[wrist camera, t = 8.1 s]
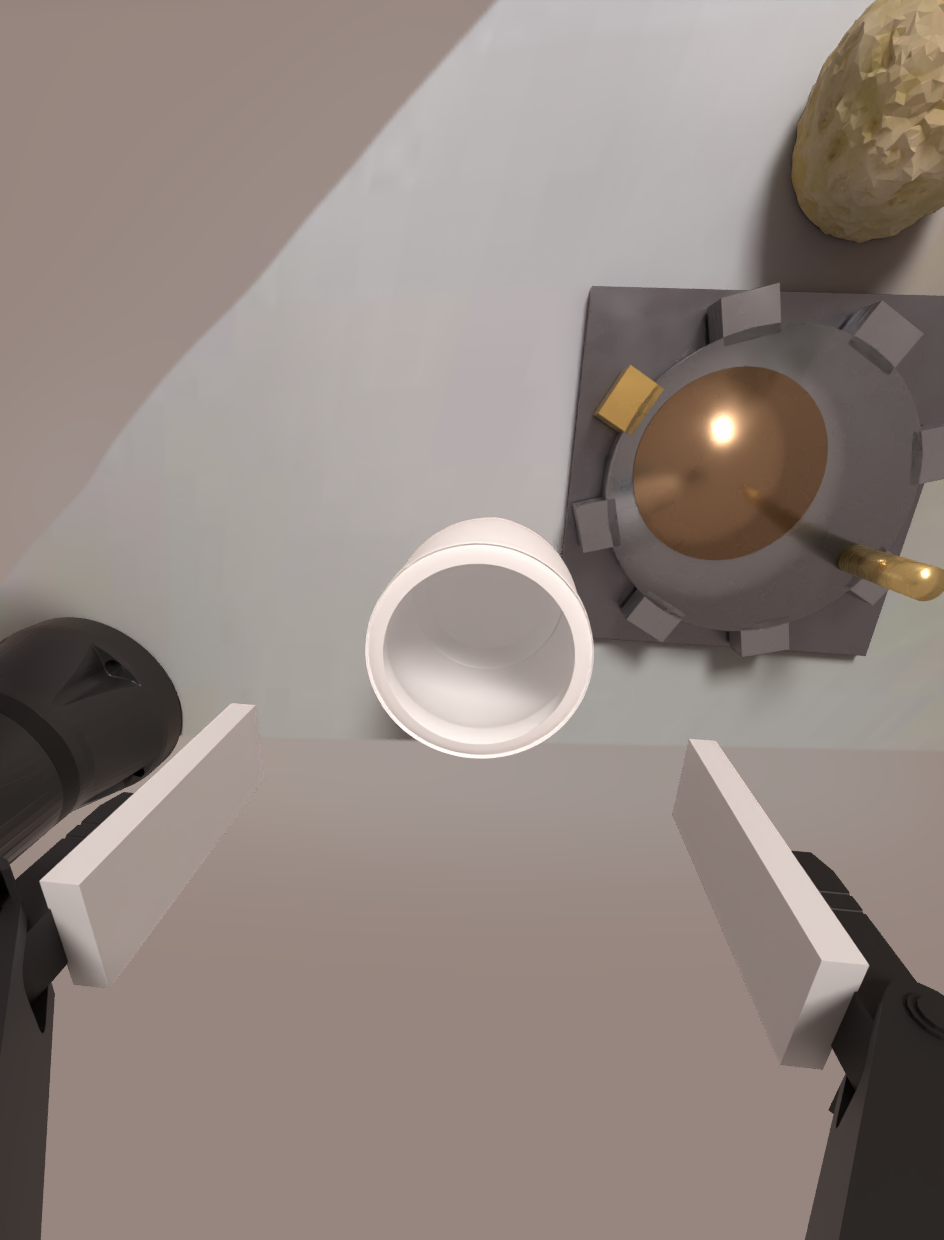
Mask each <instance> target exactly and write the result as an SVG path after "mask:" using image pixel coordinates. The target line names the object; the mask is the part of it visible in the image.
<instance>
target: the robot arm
mask: <svg viewBox="0 0 944 1240" xmlns="http://www.w3.org/2000/svg"><path fill="white" fill-rule="evenodd" d="M180 731H181V709H180V704H179V700H178V697H177V694H176V691H175V689H174V687H173V685H172V683H171V681H170V679H169V677H168V676H167V674H166V672H165V671H164V670H163V668H162V667H161V666H160V664H159V663H158V662H157V661H156V660H155V658H154V657H153V656H152V655H151V654H150V653H149V652H148V651H147V650H146V649H144V648H143V647H142V646H141V645H140V644H138V643H137V642H136V641H134V640H133V639H132V638H130V637H129V636H127V635H125V634H124V633H122V632H120V631H118V630H116V629H114V628H112V627H110V626H107V625H105V624H102V623H99V622H96V621H92V620H88V619H82V618H69V617H67V618H55V619H50V620H47V621H43V622H41V623H38V624H36V625H33V626H30V627H28V628H25V629H23V630H20V631H18V632H16V633H14V634H12V635H10V636H9V637H7V638H5V639H4V640H3V641H1V642H0V1240H41V1222H42V1204H43V1187H44V1169H45V1152H46V1135H47V1117H48V1100H49V1083H50V1066H51V1049H52V1031H53V1030H52V1029H53V1014H54V997H55V993H54V990H53V986H52V983H51V982H52V981H53V980H54V978H55V977H56V976H57V975H58V974H59V973H60V971H61V970H62V969H63V968H64V967H65V966H66V964H67V966H68V969H69V972H70V975H71V978H72V981H73V984H74V985H82V986H91V987H100V988H111V986H112V985H113V983H114V982H115V981H116V979H117V978H118V977H119V975H120V974H121V973H122V971H123V970H124V969H125V967H126V966H127V964H128V963H129V961H130V960H131V959H132V958H133V956H134V955H135V954H136V952H137V951H138V950H139V948H140V947H141V945H142V944H143V943H144V941H145V940H146V939H147V937H148V936H149V935H150V933H151V932H152V931H153V929H154V928H155V926H156V925H157V924H158V922H159V921H160V920H161V918H162V917H163V916H164V914H165V913H166V912H167V910H168V909H169V907H170V906H171V905H172V904H173V902H174V901H175V899H176V898H177V897H178V895H179V894H180V893H181V891H182V890H183V888H184V887H185V886H186V885H187V883H188V882H189V881H190V879H191V878H192V876H193V875H194V874H195V872H196V871H197V870H198V868H199V867H200V866H201V864H202V863H203V861H204V860H205V859H206V857H207V856H208V855H209V853H210V852H211V851H212V849H213V848H214V847H215V845H216V844H217V843H218V841H219V840H220V838H221V837H222V836H223V834H224V833H225V832H226V830H227V829H228V828H229V826H230V825H231V824H232V822H233V821H234V820H235V818H236V817H237V815H238V814H239V813H240V811H241V810H242V809H243V807H244V806H245V805H246V803H247V802H248V800H249V799H250V798H251V797H252V795H253V794H254V793H255V791H256V790H257V788H258V787H259V786H260V784H261V783H262V782H263V780H264V773H263V764H262V756H261V747H260V739H259V731H258V722H257V714H256V706H255V705H247V704H235V703H231V704H230V705H229V706H228V707H227V708H226V709H225V710H224V711H223V712H221V713H220V714H219V715H218V716H217V717H216V718H215V719H214V720H213V721H212V722H211V723H210V724H208V725H207V726H206V727H205V728H204V729H203V730H202V731H201V732H200V733H199V734H198V735H197V736H195V737H194V739H192V740H191V741H190V742H189V743H188V744H187V745H186V746H185V747H184V748H183V749H182V750H180V751H179V752H178V753H177V754H176V755H175V756H174V757H173V758H172V759H171V760H170V761H168V762H167V763H166V764H165V765H164V766H163V767H162V768H161V769H160V770H159V771H158V772H157V773H156V774H154V775H153V776H152V777H151V778H150V779H149V780H148V781H147V782H146V783H145V784H144V785H143V786H141V787H140V788H139V789H138V790H137V791H136V792H135V793H126V792H123V793H121V794H120V795H118V796H116V797H114V798H112V799H111V800H109V801H107V802H105V803H104V804H102V805H100V806H99V807H98V808H97V809H95V811H93V812H92V813H91V814H90V815H89V816H87V817H86V818H85V819H84V820H83V821H82V823H81V825H77V826H76V827H75V828H74V829H73V830H72V831H70V832H69V833H68V834H67V835H66V838H65V839H61V840H60V841H59V842H58V843H57V844H56V845H54V846H53V847H52V848H51V849H50V850H49V851H48V852H47V853H45V854H44V855H43V856H42V857H41V858H40V859H38V860H37V861H36V862H35V863H34V864H33V865H32V866H31V867H29V868H28V869H27V870H26V871H25V872H24V873H23V874H21V875H20V876H19V877H18V878H17V879H16V880H15V879H14V876H13V873H12V870H11V867H10V864H11V863H12V862H13V861H14V860H16V859H17V858H18V857H19V856H20V855H21V854H22V853H24V852H25V851H26V850H27V849H28V848H29V847H31V846H32V845H33V844H34V843H35V842H36V841H38V840H39V839H40V838H41V837H42V836H43V835H45V834H46V833H47V832H48V831H49V830H50V829H51V828H52V827H54V826H55V825H56V824H57V823H58V822H60V821H61V820H62V819H63V818H64V817H66V816H67V815H68V814H69V813H71V812H72V811H74V810H76V809H79V808H81V807H83V806H85V805H88V804H90V803H92V802H95V801H97V800H99V799H101V798H103V797H106V796H108V795H110V794H112V793H115V792H117V791H119V790H122V789H124V788H126V787H128V786H131V785H133V784H135V783H137V782H138V781H140V780H142V779H143V778H145V777H146V776H147V775H149V774H150V773H151V772H152V771H153V770H154V769H155V768H156V767H158V766H159V765H160V764H161V763H162V762H163V761H164V760H165V759H166V758H167V757H168V756H169V755H170V754H171V752H172V751H173V749H174V748H175V746H176V744H177V741H178V739H179V735H180ZM672 815H673V817H674V820H675V822H676V825H677V827H678V829H679V832H680V834H681V836H682V839H683V841H684V843H685V845H686V848H687V850H688V852H689V855H690V857H691V859H692V862H693V864H694V866H695V869H696V871H697V873H698V876H699V878H700V880H701V883H702V885H703V887H704V890H705V892H706V894H707V896H708V899H709V901H710V903H711V906H712V908H713V910H714V913H715V915H716V917H717V919H718V922H719V924H720V927H721V929H722V931H723V934H724V936H725V938H726V940H727V943H728V945H729V947H730V950H731V952H732V954H733V956H734V959H735V961H736V964H737V966H738V968H739V971H740V973H741V975H742V978H743V980H744V982H745V985H746V987H747V989H748V991H749V993H750V996H751V998H752V1000H753V1003H754V1005H755V1007H756V1010H757V1012H758V1015H759V1017H760V1019H761V1022H762V1024H763V1026H764V1028H765V1031H766V1033H767V1035H768V1038H769V1040H770V1042H771V1044H772V1047H773V1049H774V1052H775V1054H776V1056H777V1059H778V1061H779V1063H780V1065H786V1066H795V1067H803V1068H812V1069H821V1070H822V1069H823V1068H824V1066H825V1063H826V1061H827V1059H828V1056H829V1054H830V1052H831V1049H833V1050H834V1052H835V1054H836V1056H837V1058H838V1060H839V1062H840V1064H841V1066H842V1067H843V1069H844V1071H845V1073H846V1074H845V1076H844V1078H843V1080H842V1082H841V1084H840V1087H839V1089H838V1091H837V1093H836V1095H835V1097H834V1100H833V1101H832V1103H831V1106H830V1108H829V1111H830V1112H832V1113H833V1114H834V1116H833V1120H832V1124H831V1128H830V1133H829V1137H828V1142H827V1146H826V1150H825V1155H824V1159H823V1164H822V1168H821V1172H820V1176H819V1181H818V1185H817V1189H816V1194H815V1198H814V1203H813V1207H812V1211H811V1216H810V1220H809V1224H808V1229H807V1233H806V1238H805V1240H944V996H943V995H942V994H940V993H939V992H938V991H935V990H933V989H931V988H929V987H927V986H925V985H922V984H920V983H917V981H916V980H915V979H914V978H913V977H912V975H911V974H910V972H909V971H908V970H907V968H906V967H905V966H904V964H903V963H902V962H901V961H900V959H899V958H898V956H897V955H896V954H895V952H894V951H893V950H892V948H891V947H890V946H889V944H888V943H887V942H886V940H885V939H884V938H883V936H882V935H881V934H880V932H879V931H878V930H877V928H876V927H875V926H874V924H873V923H872V922H871V921H870V919H869V918H868V916H867V915H866V914H863V912H862V908H861V907H860V906H859V905H858V903H857V902H856V900H855V899H854V898H853V897H852V896H850V895H849V891H848V890H847V889H846V887H845V886H844V884H843V883H842V882H841V881H840V879H839V878H838V877H837V875H836V874H835V873H834V871H833V870H831V869H830V868H829V867H828V866H826V865H825V864H824V863H823V862H822V861H821V860H819V859H818V858H817V857H816V856H815V855H813V854H812V853H810V852H799V851H791V850H790V849H789V847H788V846H787V845H786V843H785V841H784V840H783V839H782V837H781V836H780V834H779V833H778V831H777V830H776V828H775V827H774V825H773V824H772V822H771V821H770V820H769V818H768V817H767V816H766V814H765V812H764V811H763V809H762V808H761V807H760V805H759V804H758V802H757V801H756V799H755V798H754V796H753V795H752V793H751V792H750V790H749V789H748V787H747V786H746V785H745V783H744V782H743V780H742V779H741V777H740V776H739V774H738V773H737V771H736V770H735V769H734V767H733V766H732V764H731V763H730V761H729V760H728V758H727V757H726V755H725V754H724V753H723V751H722V749H721V748H720V747H719V745H718V744H717V742H716V741H709V740H696V739H689V741H688V746H687V750H686V755H685V759H684V764H683V768H682V773H681V777H680V782H679V786H678V791H677V795H676V800H675V804H674V809H673V813H672Z"/></svg>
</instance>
